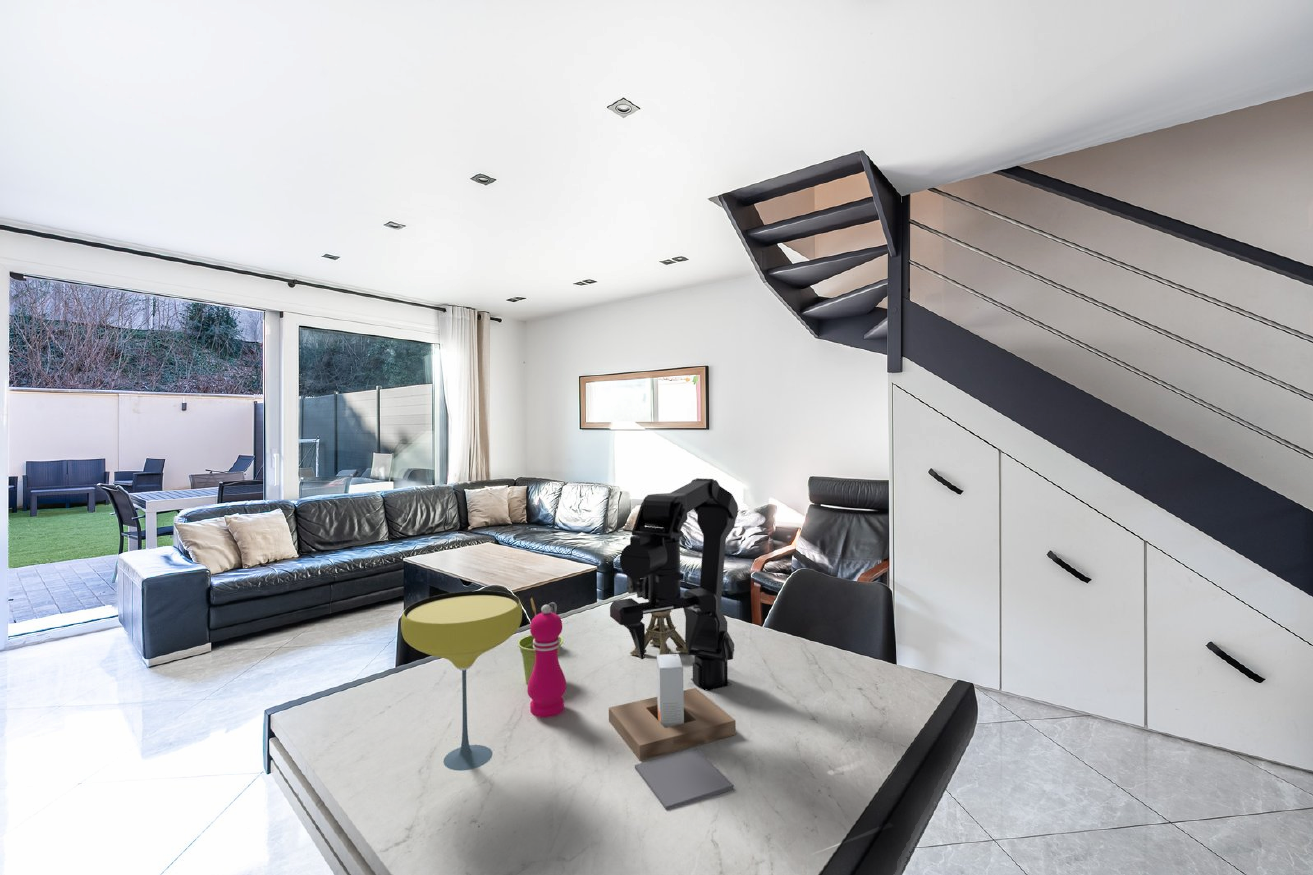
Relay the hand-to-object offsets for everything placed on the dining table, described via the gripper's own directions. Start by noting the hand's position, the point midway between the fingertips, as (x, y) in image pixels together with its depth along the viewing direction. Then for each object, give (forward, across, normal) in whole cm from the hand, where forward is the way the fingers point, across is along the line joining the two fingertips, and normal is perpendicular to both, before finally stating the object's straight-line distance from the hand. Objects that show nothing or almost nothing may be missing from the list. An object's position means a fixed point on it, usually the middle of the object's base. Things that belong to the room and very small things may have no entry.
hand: (665, 653), depth 100 cm
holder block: (+13, 0, +1) cm, 13 cm away
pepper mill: (+13, +18, -15) cm, 27 cm away
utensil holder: (+13, +10, -48) cm, 50 cm away
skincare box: (+13, 0, +1) cm, 13 cm away
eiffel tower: (+14, -14, -32) cm, 38 cm away
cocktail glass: (+13, +34, -4) cm, 36 cm away
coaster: (+13, +4, +15) cm, 20 cm away
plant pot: (+13, +16, -28) cm, 35 cm away
